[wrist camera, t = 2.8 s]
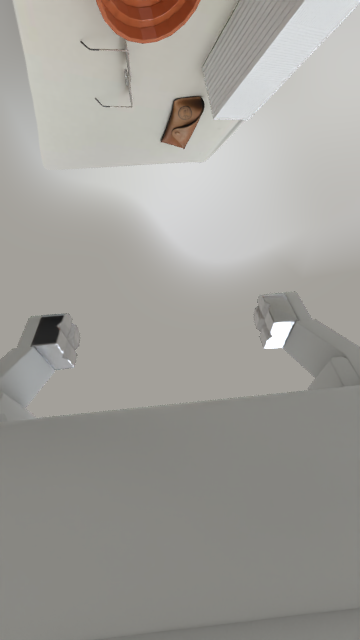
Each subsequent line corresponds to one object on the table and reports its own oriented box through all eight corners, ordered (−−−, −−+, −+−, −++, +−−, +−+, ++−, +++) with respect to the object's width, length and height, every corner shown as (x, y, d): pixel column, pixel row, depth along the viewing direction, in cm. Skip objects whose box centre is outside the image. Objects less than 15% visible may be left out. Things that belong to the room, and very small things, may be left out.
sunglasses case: (172, 100, 63) (191, 123, 65) (191, 83, 64) (208, 106, 65) (159, 143, 80) (174, 160, 82) (174, 129, 81) (188, 146, 83)
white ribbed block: (238, 72, 60) (248, 120, 62) (201, 68, 56) (213, 119, 58) (400, -152, 31) (411, -50, 33) (348, -195, 27) (363, -77, 29)
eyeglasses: (129, 93, 58) (133, 112, 58) (94, 96, 57) (98, 115, 57) (125, 31, 44) (129, 56, 45) (78, 34, 43) (84, 60, 44)
